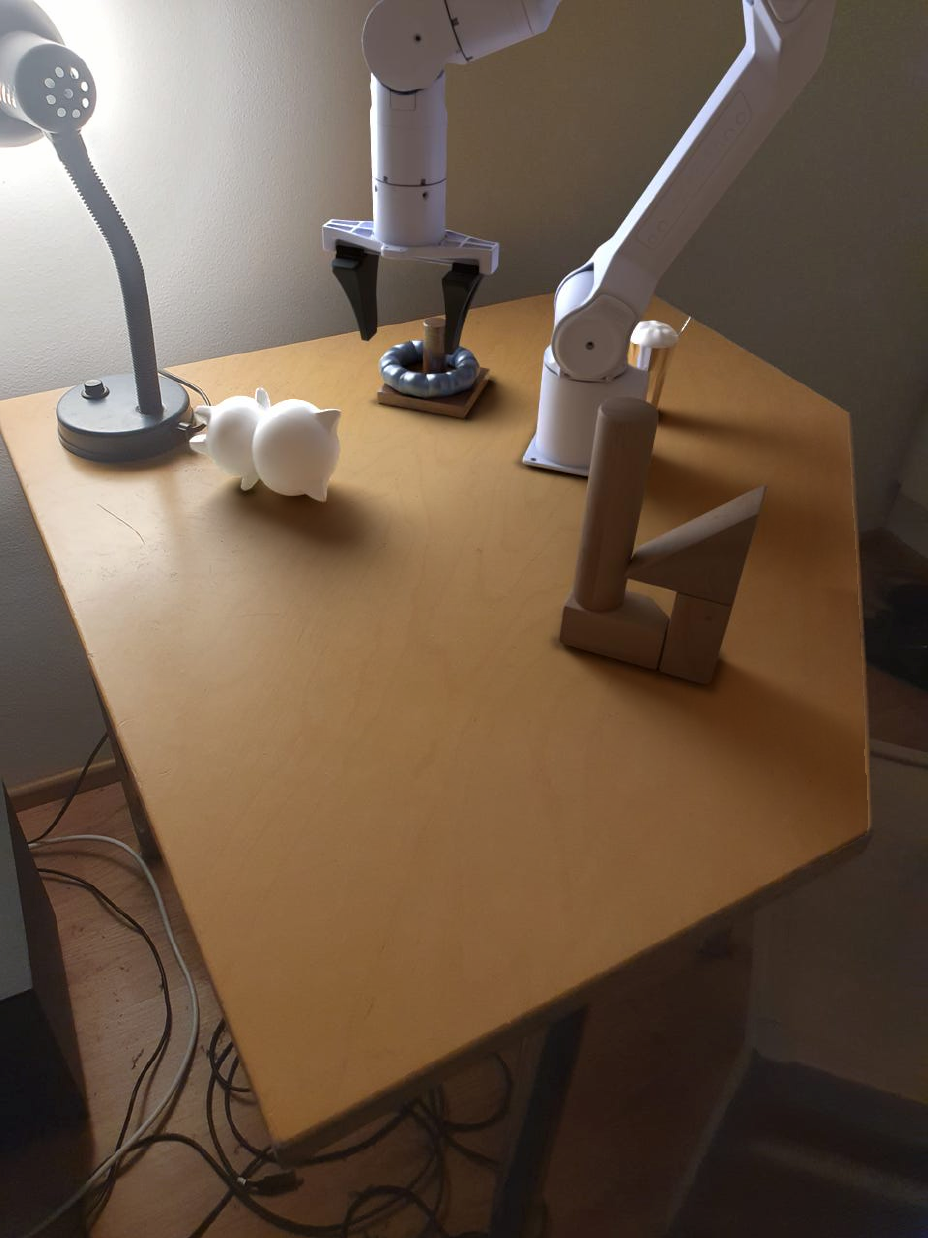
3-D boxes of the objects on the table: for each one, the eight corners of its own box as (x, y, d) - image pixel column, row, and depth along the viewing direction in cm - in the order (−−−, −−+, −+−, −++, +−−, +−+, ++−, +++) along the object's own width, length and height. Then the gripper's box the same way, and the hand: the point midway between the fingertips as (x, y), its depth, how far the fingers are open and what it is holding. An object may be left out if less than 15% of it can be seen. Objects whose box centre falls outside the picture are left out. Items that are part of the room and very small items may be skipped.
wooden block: (708, 688, 62) (777, 456, 50) (556, 645, 64) (588, 415, 53) (717, 654, 64) (785, 426, 53) (571, 614, 67) (604, 388, 55)
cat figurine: (191, 371, 74) (322, 396, 70) (260, 390, 84) (377, 413, 80) (175, 478, 75) (303, 508, 72) (244, 484, 85) (359, 511, 82)
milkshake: (674, 425, 89) (694, 326, 83) (619, 423, 89) (635, 324, 83) (667, 403, 93) (686, 306, 86) (614, 401, 93) (629, 304, 86)
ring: (489, 365, 95) (491, 344, 94) (461, 408, 88) (462, 387, 86) (399, 350, 97) (399, 330, 96) (365, 391, 90) (364, 370, 88)
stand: (489, 379, 95) (493, 312, 91) (463, 418, 89) (466, 348, 84) (408, 365, 97) (408, 298, 92) (377, 402, 91) (375, 333, 86)
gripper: (301, 177, 69) (314, 348, 78) (484, 202, 66) (476, 376, 75) (338, 154, 74) (346, 317, 83) (510, 176, 71) (499, 342, 80)
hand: (410, 343), depth 79 cm, fingers open, 7 cm apart
